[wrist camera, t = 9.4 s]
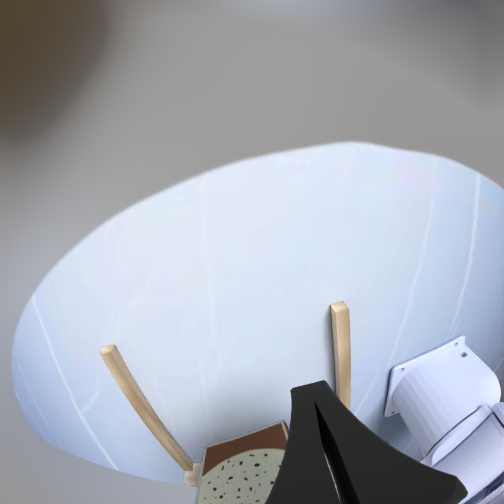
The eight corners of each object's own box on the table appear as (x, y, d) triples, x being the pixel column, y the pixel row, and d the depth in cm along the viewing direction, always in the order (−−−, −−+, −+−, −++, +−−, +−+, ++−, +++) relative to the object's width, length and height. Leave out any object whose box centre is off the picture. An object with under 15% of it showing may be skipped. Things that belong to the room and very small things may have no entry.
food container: (227, 469, 25) (227, 535, 16) (194, 448, 24) (187, 524, 14) (320, 437, 24) (341, 511, 14) (296, 413, 22) (316, 502, 13)
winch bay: (343, 301, 19) (373, 343, 14) (344, 445, 25) (356, 479, 20) (105, 345, 19) (78, 388, 14) (191, 469, 25) (187, 503, 20)
